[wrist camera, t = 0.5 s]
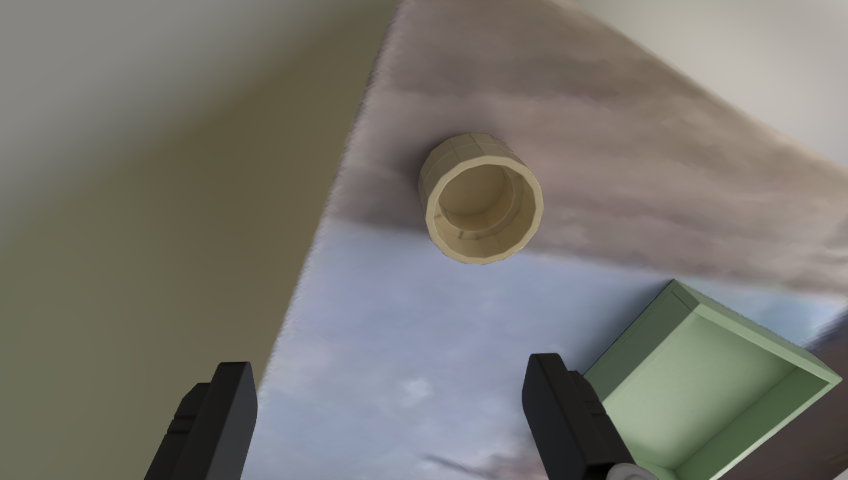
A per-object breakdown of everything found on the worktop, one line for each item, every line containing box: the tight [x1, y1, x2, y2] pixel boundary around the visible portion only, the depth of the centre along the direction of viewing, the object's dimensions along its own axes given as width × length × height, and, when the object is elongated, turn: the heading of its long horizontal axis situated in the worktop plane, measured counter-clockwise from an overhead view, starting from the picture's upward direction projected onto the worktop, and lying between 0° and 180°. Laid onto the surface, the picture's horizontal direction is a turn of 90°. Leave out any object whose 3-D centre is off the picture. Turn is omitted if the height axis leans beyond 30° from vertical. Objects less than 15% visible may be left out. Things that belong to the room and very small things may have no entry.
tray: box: [583, 279, 843, 480], centre depth 38 cm, size 18×18×3 cm
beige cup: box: [418, 133, 544, 265], centre depth 26 cm, size 6×6×5 cm
